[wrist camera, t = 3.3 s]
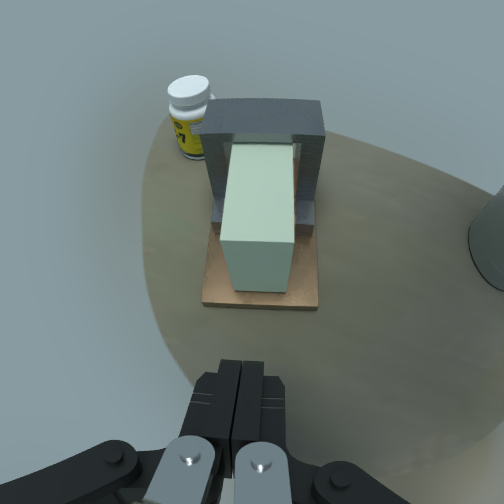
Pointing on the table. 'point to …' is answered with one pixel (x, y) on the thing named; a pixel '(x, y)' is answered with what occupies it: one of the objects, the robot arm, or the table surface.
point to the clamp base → (304, 180)
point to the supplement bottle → (189, 112)
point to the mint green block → (259, 216)
